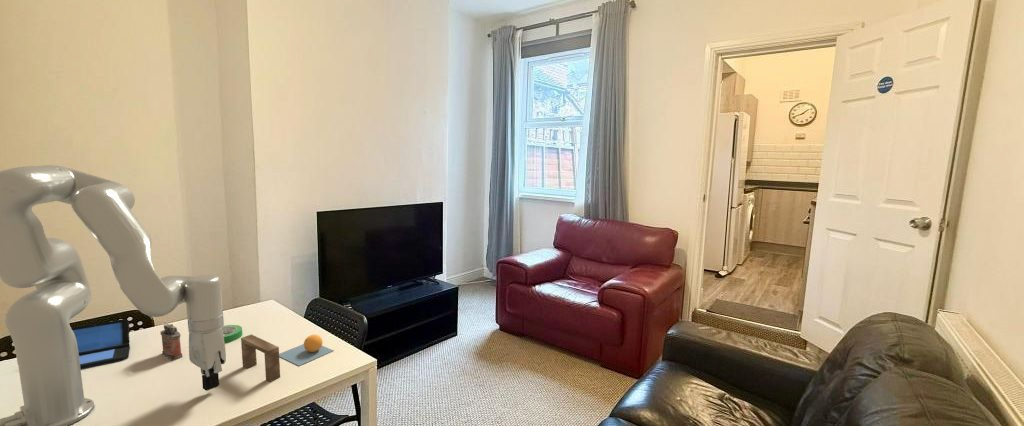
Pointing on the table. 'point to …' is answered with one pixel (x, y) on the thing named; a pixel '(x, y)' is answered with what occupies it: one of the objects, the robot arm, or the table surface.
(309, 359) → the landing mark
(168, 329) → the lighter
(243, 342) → the bridge
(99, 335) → the handheld game console
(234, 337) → the tape roll
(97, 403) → the table surface
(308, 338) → the ball
